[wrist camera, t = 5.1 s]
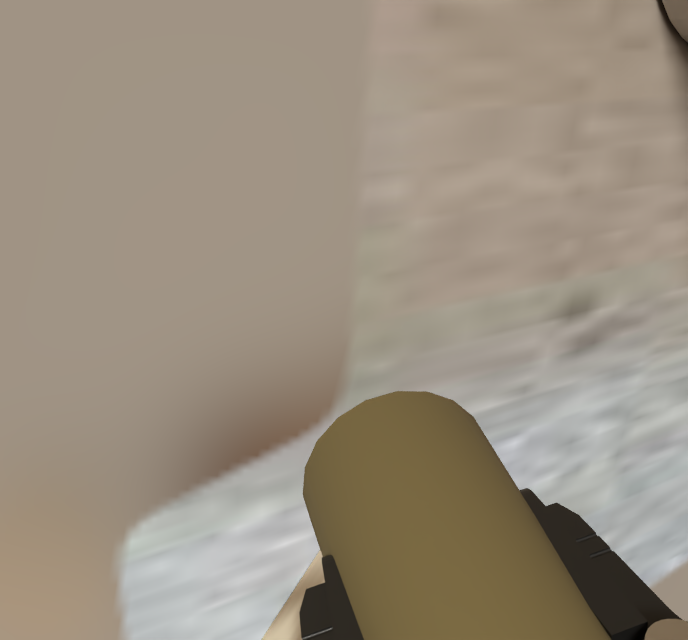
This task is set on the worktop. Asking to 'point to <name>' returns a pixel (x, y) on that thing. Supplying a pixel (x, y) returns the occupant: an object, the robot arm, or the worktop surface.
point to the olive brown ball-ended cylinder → (435, 529)
